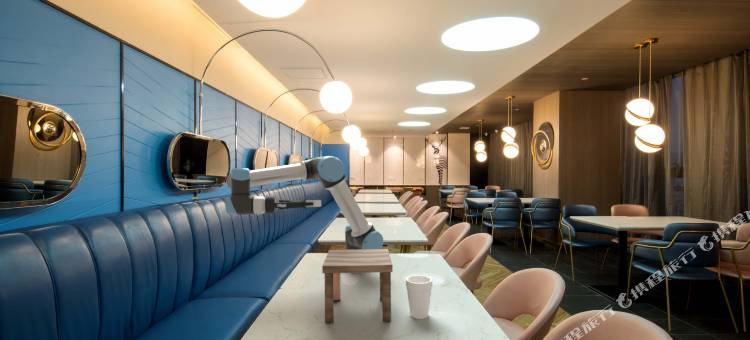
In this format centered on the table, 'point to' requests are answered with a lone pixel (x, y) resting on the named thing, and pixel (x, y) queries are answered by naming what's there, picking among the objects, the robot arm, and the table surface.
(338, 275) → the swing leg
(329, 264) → the stool
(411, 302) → the foam cup
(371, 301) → the table surface
